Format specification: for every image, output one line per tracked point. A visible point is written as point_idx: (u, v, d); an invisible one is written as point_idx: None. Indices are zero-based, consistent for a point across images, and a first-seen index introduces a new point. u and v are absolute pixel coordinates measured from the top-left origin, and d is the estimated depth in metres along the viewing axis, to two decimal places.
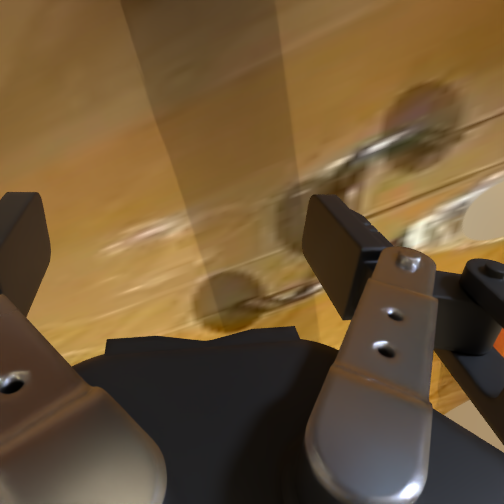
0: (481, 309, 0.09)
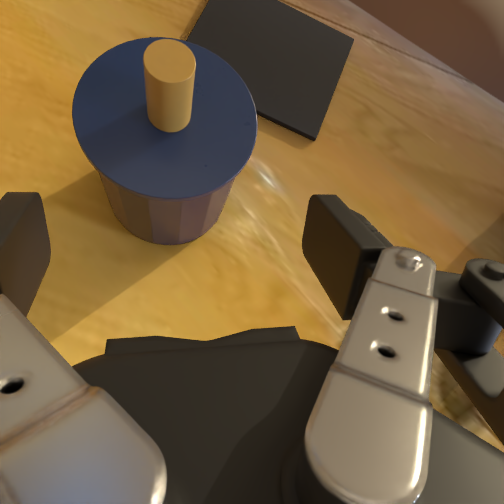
0: (481, 309, 0.09)
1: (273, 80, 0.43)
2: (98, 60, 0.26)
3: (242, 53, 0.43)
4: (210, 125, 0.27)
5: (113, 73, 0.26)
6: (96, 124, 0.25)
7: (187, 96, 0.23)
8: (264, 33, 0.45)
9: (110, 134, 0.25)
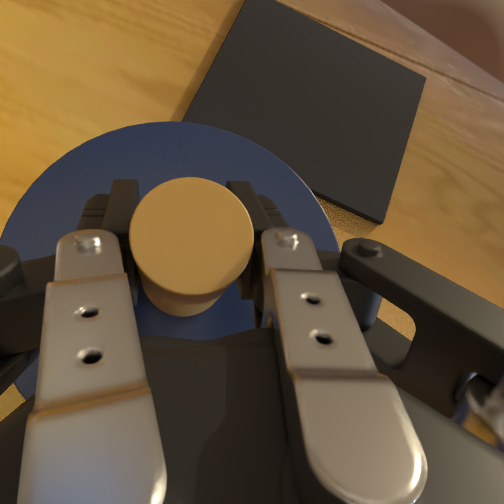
0: (353, 285, 0.09)
1: (322, 139, 0.31)
2: (48, 174, 0.14)
3: (278, 101, 0.31)
4: None
5: (77, 199, 0.14)
6: None
7: None
8: (308, 72, 0.32)
9: None
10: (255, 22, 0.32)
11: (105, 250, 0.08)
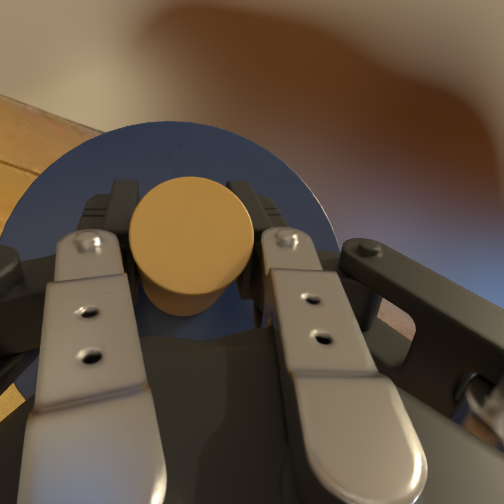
0: (353, 285, 0.09)
1: None
2: (48, 173, 0.14)
3: None
4: None
5: (77, 199, 0.13)
6: None
7: None
8: None
9: None
10: None
11: (105, 250, 0.08)
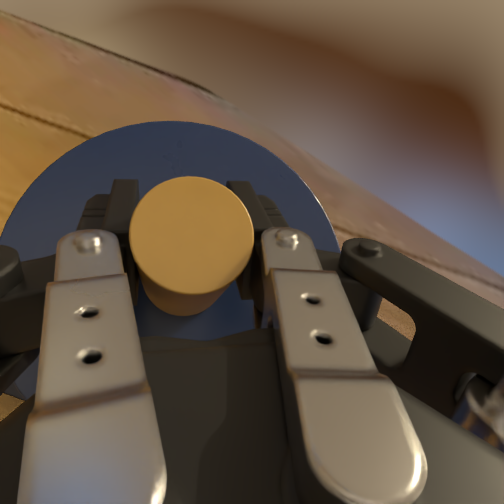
0: (353, 285, 0.09)
1: None
2: (48, 173, 0.14)
3: None
4: None
5: (77, 199, 0.13)
6: None
7: None
8: None
9: None
10: None
11: (105, 250, 0.08)
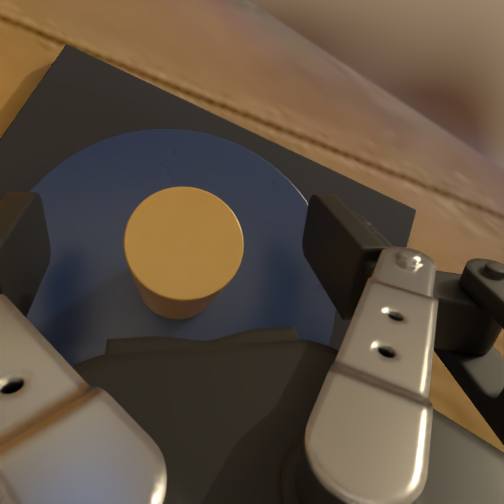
0: (481, 309, 0.09)
1: None
2: (46, 180, 0.14)
3: None
4: (254, 297, 0.14)
5: (74, 205, 0.14)
6: (36, 316, 0.13)
7: None
8: None
9: (64, 335, 0.13)
10: (63, 116, 0.16)
11: None
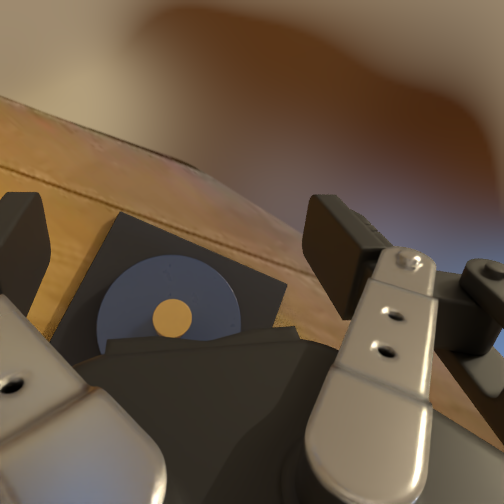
0: (481, 309, 0.09)
1: None
2: (116, 282, 0.33)
3: None
4: (203, 330, 0.34)
5: (128, 292, 0.33)
6: None
7: None
8: None
9: None
10: (119, 247, 0.35)
11: None
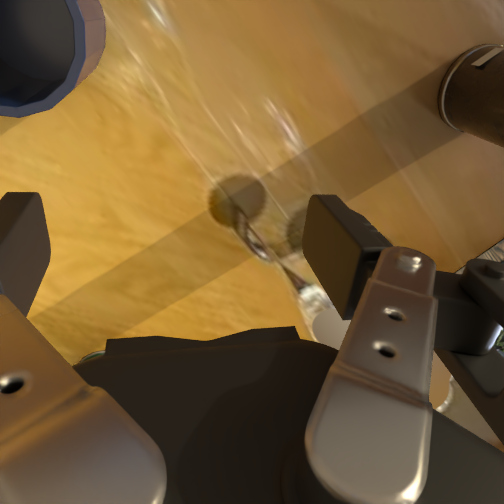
0: (481, 309, 0.09)
1: None
2: None
3: None
4: None
5: None
6: None
7: None
8: None
9: None
10: None
11: None
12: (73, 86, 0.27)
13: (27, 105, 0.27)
